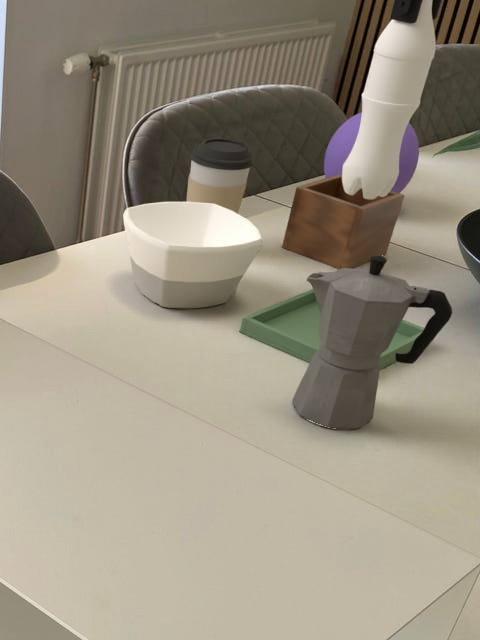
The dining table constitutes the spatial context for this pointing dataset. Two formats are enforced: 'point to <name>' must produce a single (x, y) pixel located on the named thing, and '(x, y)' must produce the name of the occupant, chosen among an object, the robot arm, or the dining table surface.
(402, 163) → the decorative ball
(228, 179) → the coffee cup
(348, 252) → the wooden box
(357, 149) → the water bottle
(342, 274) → the coffeepot
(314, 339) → the tray
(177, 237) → the bowl
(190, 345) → the dining table surface
